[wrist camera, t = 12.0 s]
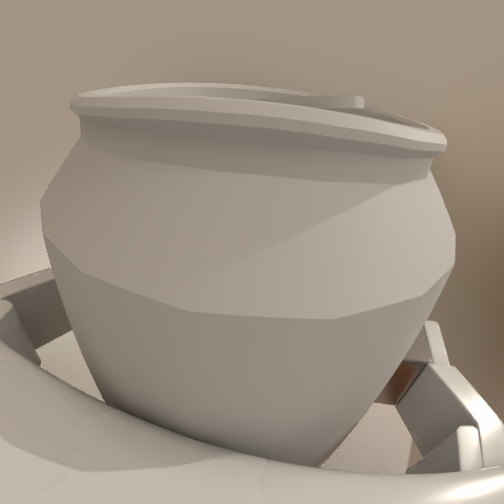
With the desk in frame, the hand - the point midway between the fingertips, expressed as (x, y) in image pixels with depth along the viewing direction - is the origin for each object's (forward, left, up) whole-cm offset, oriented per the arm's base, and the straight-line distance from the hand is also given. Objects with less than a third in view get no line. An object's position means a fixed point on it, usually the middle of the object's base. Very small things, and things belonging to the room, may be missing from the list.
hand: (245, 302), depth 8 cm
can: (0, +1, -7) cm, 7 cm away
